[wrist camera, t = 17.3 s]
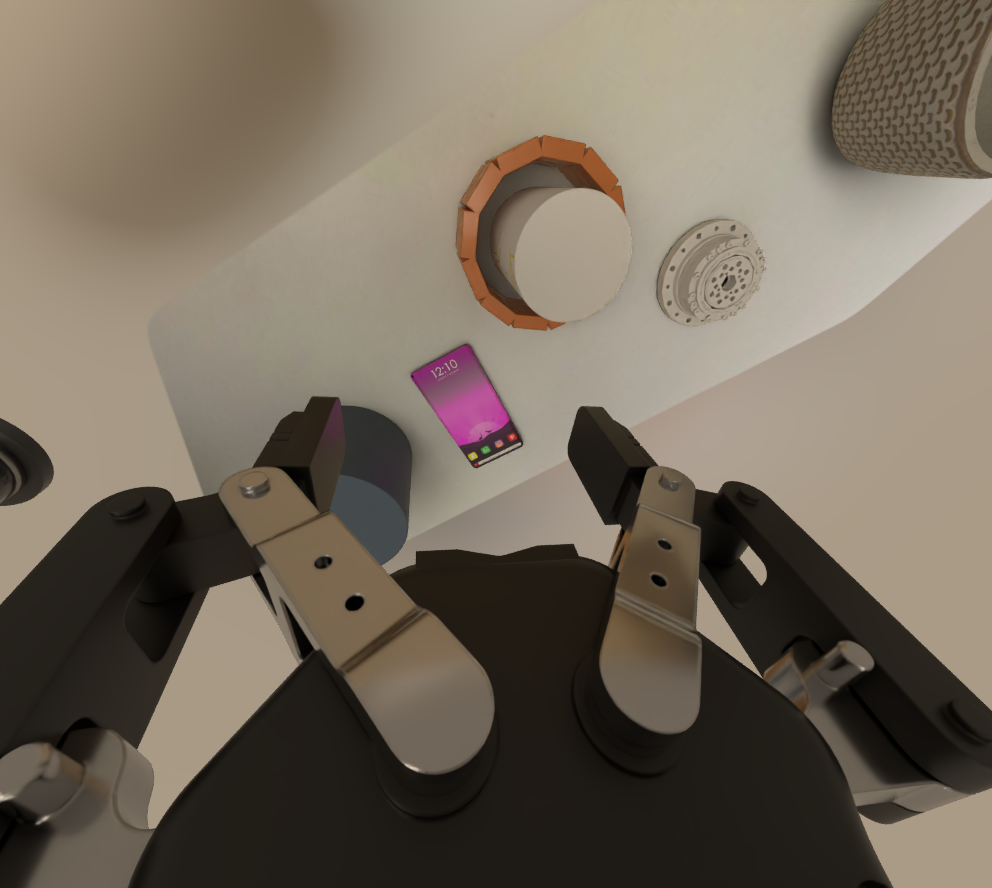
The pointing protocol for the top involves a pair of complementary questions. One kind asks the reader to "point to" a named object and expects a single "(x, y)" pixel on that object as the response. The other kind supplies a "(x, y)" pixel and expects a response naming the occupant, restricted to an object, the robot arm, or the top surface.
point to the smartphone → (468, 406)
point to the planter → (919, 91)
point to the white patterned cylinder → (562, 249)
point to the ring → (545, 150)
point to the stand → (374, 482)
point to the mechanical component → (710, 273)
